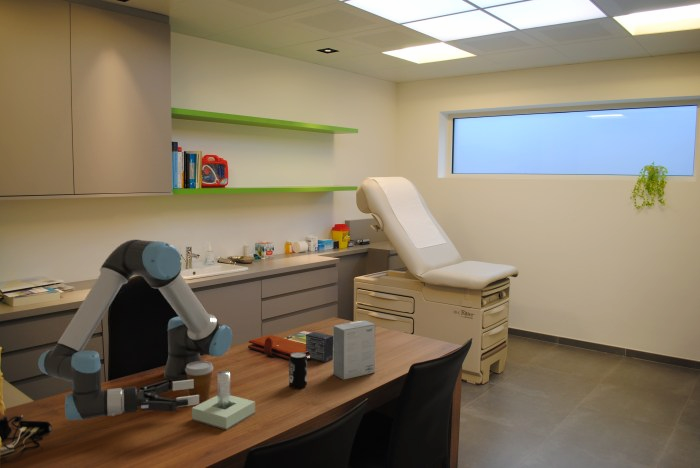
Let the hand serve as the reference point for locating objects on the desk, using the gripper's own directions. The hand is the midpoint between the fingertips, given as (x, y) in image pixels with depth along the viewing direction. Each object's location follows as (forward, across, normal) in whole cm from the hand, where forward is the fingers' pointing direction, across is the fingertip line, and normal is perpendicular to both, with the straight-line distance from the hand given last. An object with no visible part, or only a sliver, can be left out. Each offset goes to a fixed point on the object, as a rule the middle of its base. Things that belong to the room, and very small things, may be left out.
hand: (196, 391), depth 173 cm
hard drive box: (+63, -22, -10) cm, 68 cm away
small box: (+56, -43, -10) cm, 72 cm away
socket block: (+9, 0, -10) cm, 13 cm away
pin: (+8, 0, -9) cm, 12 cm away
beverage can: (+39, -17, -10) cm, 43 cm away
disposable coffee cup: (+3, -18, -10) cm, 20 cm away
